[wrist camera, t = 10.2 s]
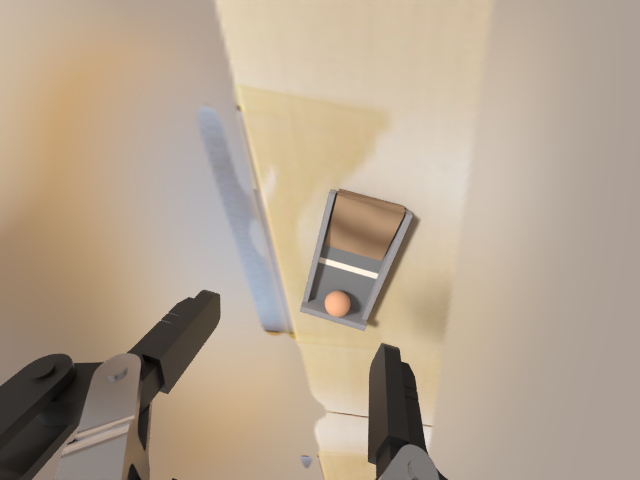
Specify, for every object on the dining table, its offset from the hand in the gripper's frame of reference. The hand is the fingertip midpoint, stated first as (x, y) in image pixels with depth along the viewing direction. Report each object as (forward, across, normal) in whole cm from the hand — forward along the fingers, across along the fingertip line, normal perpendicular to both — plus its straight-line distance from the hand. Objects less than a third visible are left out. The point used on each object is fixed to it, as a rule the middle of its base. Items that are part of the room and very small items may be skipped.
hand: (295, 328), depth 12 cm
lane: (+23, -3, +11) cm, 26 cm away
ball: (+21, -3, +17) cm, 27 cm away
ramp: (+23, -4, +5) cm, 24 cm away
